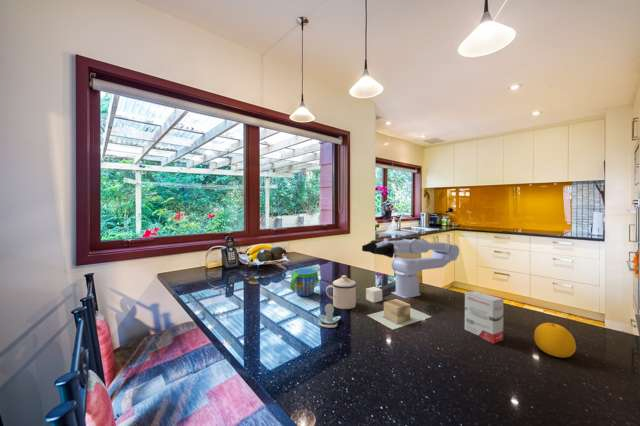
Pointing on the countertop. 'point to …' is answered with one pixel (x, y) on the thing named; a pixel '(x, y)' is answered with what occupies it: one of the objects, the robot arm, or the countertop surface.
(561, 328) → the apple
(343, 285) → the teacup with lid
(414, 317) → the plate
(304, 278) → the snack cup
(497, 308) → the ink box
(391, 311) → the oak block
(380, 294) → the cream block
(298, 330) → the countertop surface
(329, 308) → the pacifier
